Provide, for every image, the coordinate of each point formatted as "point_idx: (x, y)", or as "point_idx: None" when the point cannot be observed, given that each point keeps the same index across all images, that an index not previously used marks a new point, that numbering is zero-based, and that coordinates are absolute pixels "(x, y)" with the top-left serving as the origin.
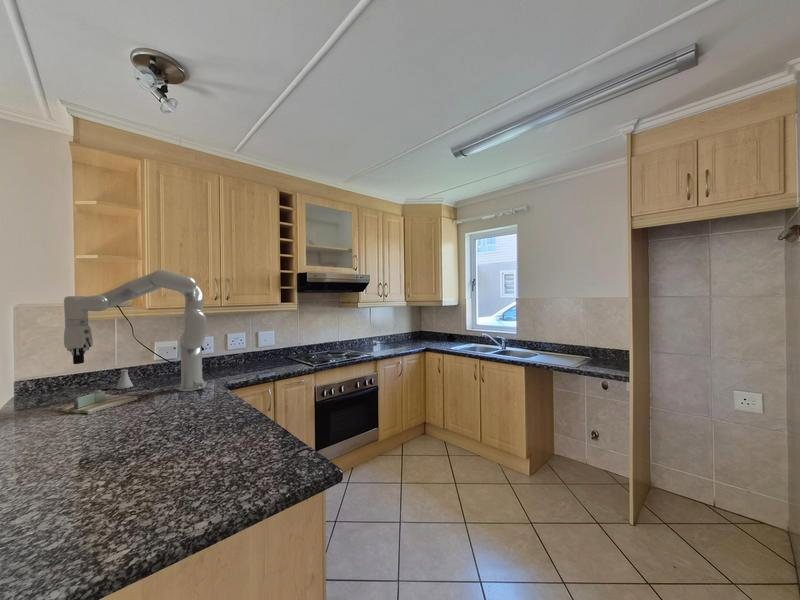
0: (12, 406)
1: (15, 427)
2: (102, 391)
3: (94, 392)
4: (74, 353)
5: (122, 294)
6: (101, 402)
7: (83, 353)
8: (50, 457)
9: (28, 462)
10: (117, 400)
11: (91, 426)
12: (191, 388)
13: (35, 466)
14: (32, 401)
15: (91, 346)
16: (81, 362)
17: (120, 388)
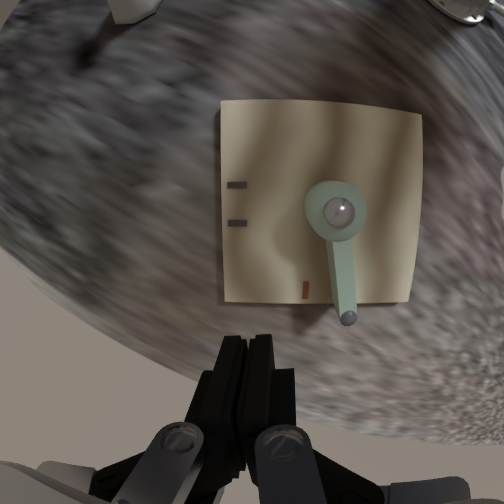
0: (33, 276)
1: None
2: (344, 194)
3: (319, 218)
4: (219, 490)
5: None
6: None
7: (315, 452)
8: (494, 418)
9: (479, 432)
10: (392, 172)
11: (481, 349)
12: (477, 15)
13: (492, 429)
14: (21, 228)
15: (471, 499)
16: (273, 361)
17: (142, 16)
